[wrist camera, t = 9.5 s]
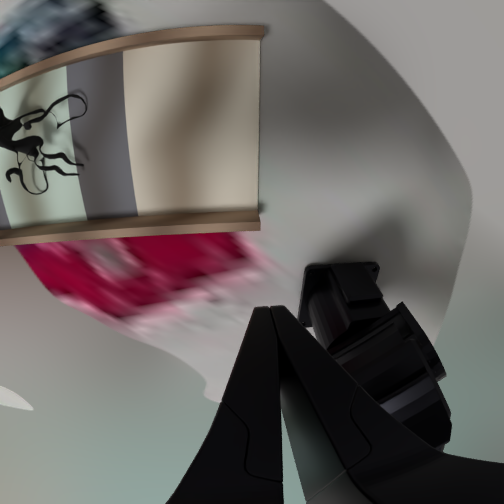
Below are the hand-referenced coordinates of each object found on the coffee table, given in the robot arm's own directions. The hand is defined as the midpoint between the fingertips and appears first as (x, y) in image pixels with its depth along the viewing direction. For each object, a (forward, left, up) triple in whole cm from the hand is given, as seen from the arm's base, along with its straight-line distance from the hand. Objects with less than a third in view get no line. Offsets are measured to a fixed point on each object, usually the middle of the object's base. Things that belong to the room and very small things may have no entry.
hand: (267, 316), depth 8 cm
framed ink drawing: (+3, +11, -12) cm, 17 cm away
